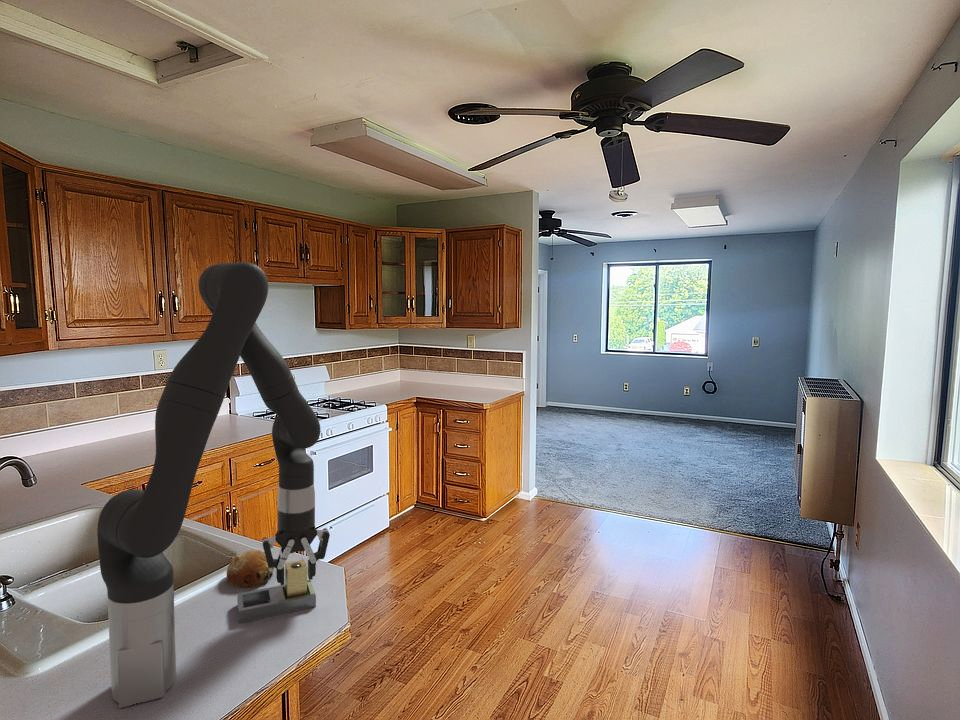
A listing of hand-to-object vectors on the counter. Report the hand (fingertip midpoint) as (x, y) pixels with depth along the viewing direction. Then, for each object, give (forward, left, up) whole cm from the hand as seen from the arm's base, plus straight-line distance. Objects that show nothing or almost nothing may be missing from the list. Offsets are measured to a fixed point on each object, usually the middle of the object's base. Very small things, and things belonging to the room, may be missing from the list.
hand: (296, 580), depth 116 cm
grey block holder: (0, +4, -5) cm, 6 cm away
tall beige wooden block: (0, 0, -5) cm, 5 cm away
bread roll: (+14, +8, -5) cm, 17 cm away
